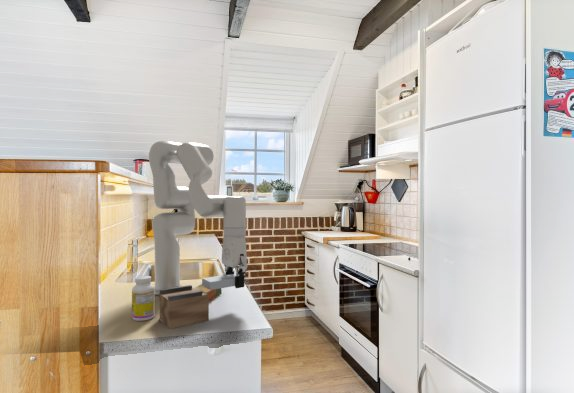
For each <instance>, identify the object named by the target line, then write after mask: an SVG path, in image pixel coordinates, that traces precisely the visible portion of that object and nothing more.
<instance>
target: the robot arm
mask: <svg viewBox="0 0 574 393" xmlns="http://www.w3.org/2000/svg"><path fill="white" fill-rule="evenodd" d="M148 161H149V167H150V170H151V174H152V183H153V184H152V185H153V187H152V188H153V196H154V197H153V198H154V204H155V207H156V208H157V209H160V210H177V212H175V211H173V212H172V211H170V212H161V213H159V214H156V215H155V216H154V217H153V219H152V221H151V228H152V234H153V238H154V239H153V242H154V287H155V296H160V294H159V293H160V290H161V289H168V288H174V287H181V286H182V285H181V283H180V282H181V280H180V278H181V277H180V276H181V272H180V271H181V266H180V264H181V262H180V261H181V259H180V256H181V254H180V253H181V251H180V250H181V248H180V247H181V246H180V244H179V242H178V239H177V238H176V236H183V235H189V234H191V233H193V232H194V230H195V227H196V214H195V212H196V213H197V214H198V215H199V216H200V217H202V218H221V217H223V222H222V223H223V224H222V226H223V239H222V246H221V247H222V248H221V263H222V265H223V266H224V272H225V274H224V275H229V274H236V276H235V286H234V288H235V289H240V288H245V275H246V272H247V268H248V264H247V261H248V260H247V258H248V257H247V242H246V237H247V230H246V229H247V226H246V225H247V221H246V220H247V218H246V215H247V214H246V213H247V212H246V211H247V207H246V206H247V204H246V203H247V200H246V198H245V196H240V195H238V196H237V195H234V196H233V195H214V194H212V195H210V194H209V195H208V194H207V193H206V192H205V190H204V188H203V186H202V185H204V184H205V183H207V182H208V181H209V180H210V179H211V178H212V176H213V170H212V168H211V167H210V166H211V164H212V163H213V161H214V151H213V149H212V148H211V147H210V146H209V145H206V144H202V143H197V142H176V141H169V140H160V141H156V142H154V143H153V144H152V145H151V147H150V148H149V153H148ZM169 164H176V165H178V164H180V165H182V167H183V168H182V169H183V170H184V172H185V174H186V175H187V177H188V178H189V180H190V181H189V184H188V187H187V186H182V185H181V186H179V185H177V184H176V176H175V172H174V170H173V169H172V167H171V166H170V165H169Z"/></svg>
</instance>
